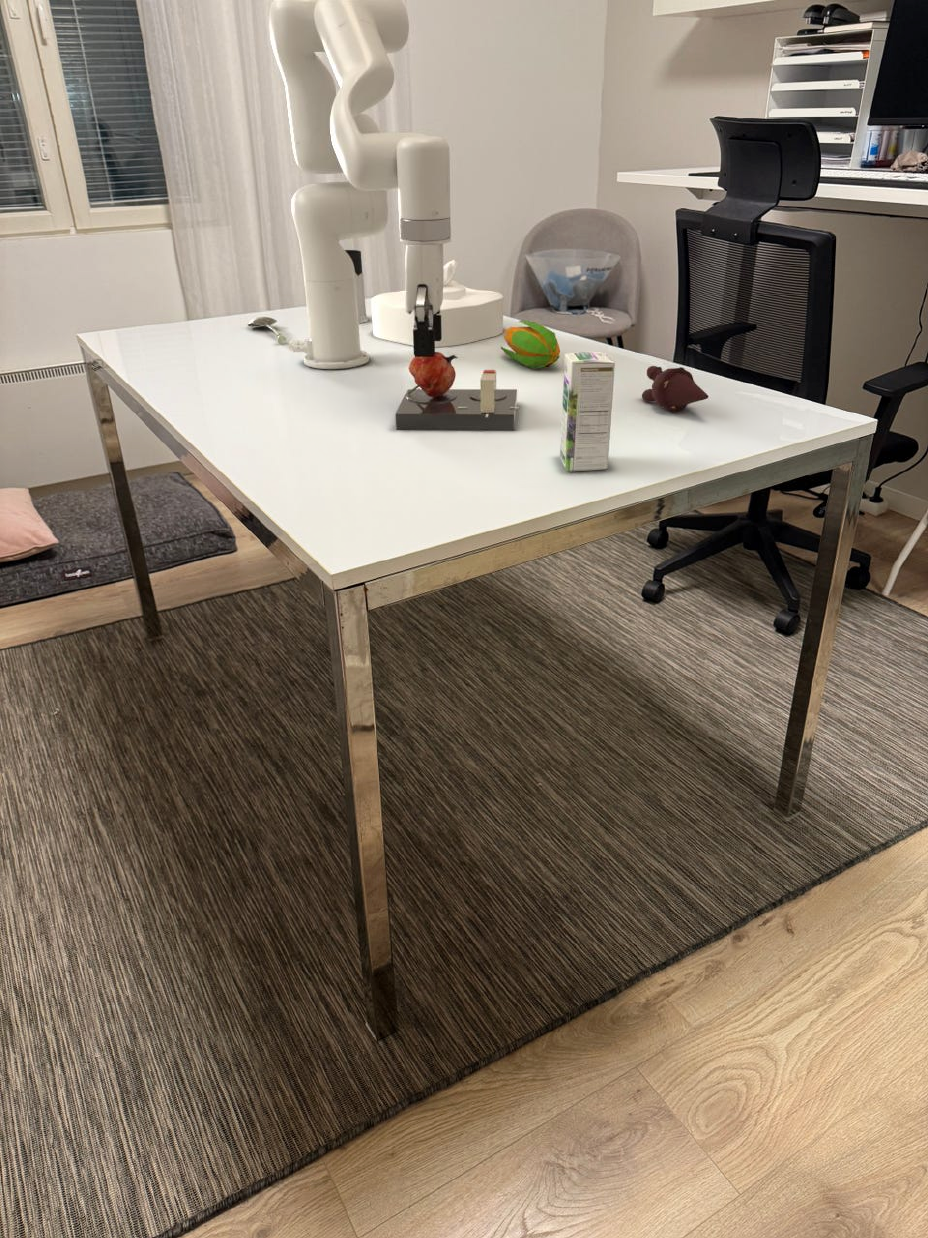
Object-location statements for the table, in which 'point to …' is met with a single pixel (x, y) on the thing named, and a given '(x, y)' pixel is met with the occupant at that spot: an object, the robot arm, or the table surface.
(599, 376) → the syrup box
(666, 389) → the icecream
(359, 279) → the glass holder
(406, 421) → the hob
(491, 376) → the hob knob
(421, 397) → the hotplates
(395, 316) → the white cake
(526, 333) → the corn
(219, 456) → the table surface
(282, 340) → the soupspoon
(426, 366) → the pomegranate
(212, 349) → the table surface
